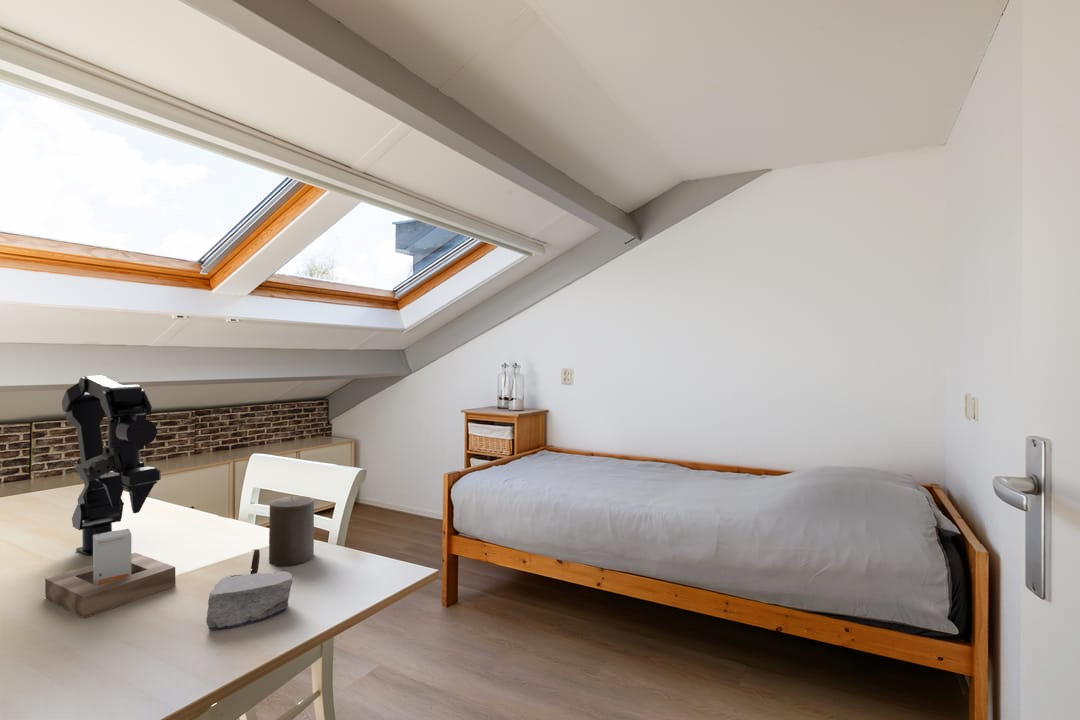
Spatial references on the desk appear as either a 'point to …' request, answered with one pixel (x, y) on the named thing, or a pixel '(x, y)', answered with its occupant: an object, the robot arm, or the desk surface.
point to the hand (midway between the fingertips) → (125, 509)
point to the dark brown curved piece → (254, 562)
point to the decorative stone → (247, 599)
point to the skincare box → (111, 556)
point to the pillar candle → (291, 530)
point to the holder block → (108, 586)
